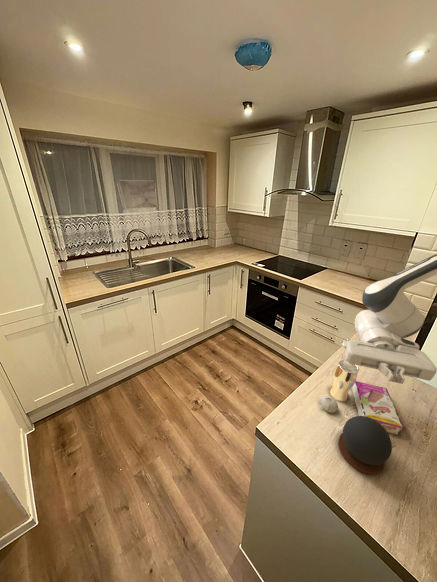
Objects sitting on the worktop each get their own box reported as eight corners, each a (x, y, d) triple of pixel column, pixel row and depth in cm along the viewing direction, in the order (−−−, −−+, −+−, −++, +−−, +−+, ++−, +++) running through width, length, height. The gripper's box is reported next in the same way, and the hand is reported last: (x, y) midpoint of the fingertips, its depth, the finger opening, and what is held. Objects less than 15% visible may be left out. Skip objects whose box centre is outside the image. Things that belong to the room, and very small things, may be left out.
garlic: (316, 408, 84) (319, 398, 82) (321, 399, 88) (324, 389, 86) (333, 419, 81) (337, 408, 78) (338, 408, 84) (342, 398, 82)
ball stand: (375, 441, 74) (389, 413, 68) (388, 483, 64) (406, 454, 58) (334, 429, 77) (345, 402, 72) (340, 468, 67) (353, 439, 61)
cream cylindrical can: (324, 394, 90) (334, 364, 83) (333, 385, 94) (343, 356, 87) (343, 407, 85) (354, 376, 78) (351, 397, 89) (363, 367, 83)
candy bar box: (387, 387, 88) (404, 427, 73) (382, 396, 90) (398, 437, 76) (354, 379, 90) (364, 416, 76) (350, 388, 93) (360, 426, 78)
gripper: (343, 329, 70) (353, 360, 58) (424, 344, 64) (453, 381, 52) (338, 346, 72) (346, 379, 60) (415, 362, 67) (440, 401, 55)
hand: (396, 380), depth 56 cm, fingers closed
